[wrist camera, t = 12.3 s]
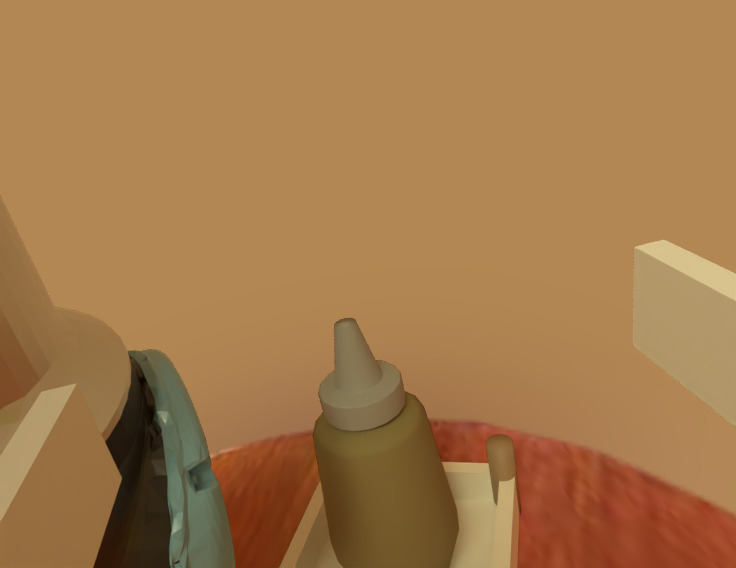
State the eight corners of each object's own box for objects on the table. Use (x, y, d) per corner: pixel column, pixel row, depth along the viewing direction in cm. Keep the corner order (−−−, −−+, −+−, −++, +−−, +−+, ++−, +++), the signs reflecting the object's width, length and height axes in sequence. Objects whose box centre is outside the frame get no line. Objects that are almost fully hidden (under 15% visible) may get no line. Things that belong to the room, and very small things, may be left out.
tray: (265, 669, 33) (235, 599, 31) (339, 491, 45) (322, 431, 43) (513, 712, 28) (501, 633, 26) (521, 501, 41) (513, 434, 38)
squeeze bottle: (418, 500, 41) (370, 277, 34) (494, 573, 35) (453, 316, 28) (322, 561, 38) (247, 329, 31) (385, 655, 31) (308, 387, 24)
